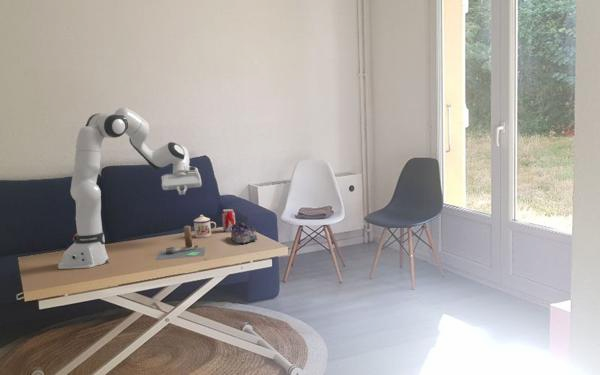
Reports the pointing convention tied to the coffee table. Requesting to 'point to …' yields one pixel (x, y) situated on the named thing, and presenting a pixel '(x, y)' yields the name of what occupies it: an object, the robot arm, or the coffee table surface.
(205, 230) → the teacup with lid
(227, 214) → the soda can
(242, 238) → the geode
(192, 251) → the dial plate
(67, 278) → the coffee table surface
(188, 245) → the tuning lever
